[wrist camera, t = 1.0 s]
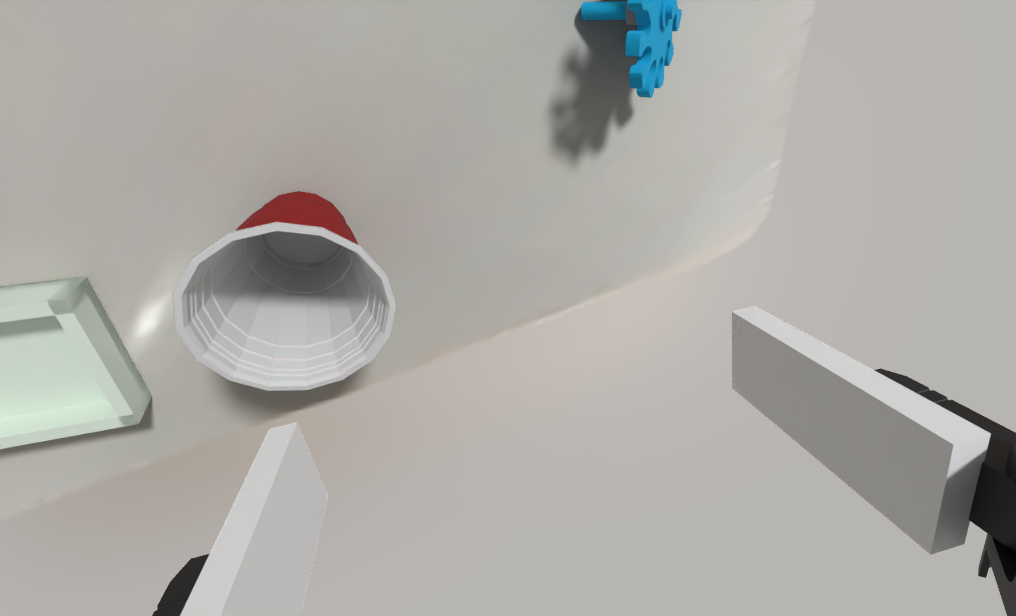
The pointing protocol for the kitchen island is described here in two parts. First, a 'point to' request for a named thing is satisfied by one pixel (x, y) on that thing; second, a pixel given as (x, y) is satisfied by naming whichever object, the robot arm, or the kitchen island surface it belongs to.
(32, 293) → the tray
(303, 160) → the kitchen island surface
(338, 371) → the plastic cup
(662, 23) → the blue knobby plastic piece
